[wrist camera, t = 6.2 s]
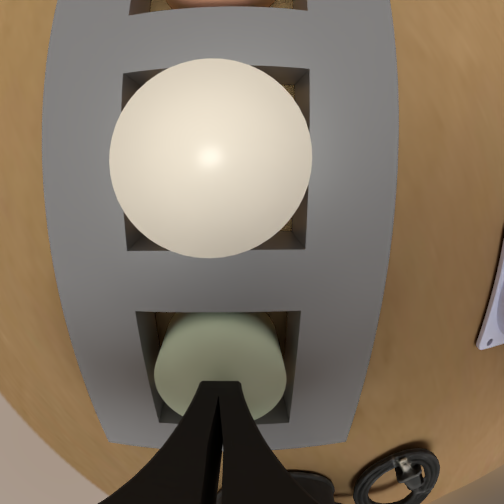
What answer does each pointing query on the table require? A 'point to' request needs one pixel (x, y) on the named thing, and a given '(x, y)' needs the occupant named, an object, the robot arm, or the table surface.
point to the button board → (246, 263)
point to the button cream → (210, 158)
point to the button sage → (221, 358)
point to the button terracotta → (217, 3)
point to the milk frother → (405, 471)
